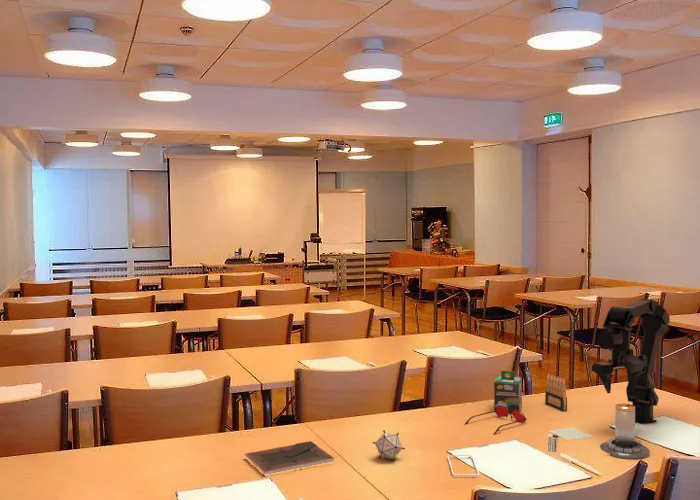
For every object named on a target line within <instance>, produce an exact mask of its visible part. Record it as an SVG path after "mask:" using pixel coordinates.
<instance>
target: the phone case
mask: <svg viewBox="0 0 700 500" xmlns="http://www.w3.org/2000/svg"><path fill="white" fill-rule="evenodd" d="M457 456H470V457H472V459H473V461H472V463H473V462H474V464H473V466H474V465H475V467H476V469H475V471H477V472H476V473H469V474H467V473H465V474H464V473H462V474H461V473H454V471H453V467H452V463H451V461H450V458H449V457H452V458H454V457H457ZM472 459H471V460H472ZM447 461H449V462H448V466H449V465H450V466H449V469H450V468H451V469H450V471H451V476H452V475H453V476H465V477H466V476H472V477H473V476H474V477H478V476H479V477H480V472H479V469H478V466H477V464H476V463H475V459H474V456H472V455H468V454H465V455H464V454H463V455H461V454H459V455H458V454H457V455H452V454H451V455H447ZM475 467H474V468H475ZM477 473H478V474H477ZM453 476H452V477H453Z"/></svg>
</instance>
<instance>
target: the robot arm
mask: <svg viewBox="0 0 700 500" xmlns="http://www.w3.org/2000/svg"><path fill="white" fill-rule="evenodd" d="M638 317H639V318H640V319H641V326H642V329H643V331H644V335H643V341H642V344H641V349H640V354H639V355H634V349H633V348H631V331H633V329H634V328H633V327H632V325H633V324H634V323H635V322H636V318H638ZM670 320H671V318H670V315H669V313H668V312H667V310H666V309H665V308H664V307H663V306H661V305H660V304H658V302H657V301H656V300H654V299H650V298H649V299H648V298H641V299H639V300H638V301H635V302H633V303H632V302H631V303H630V304H628V305H625V306H624V305H613V306H611V307H610V308H609V309H608V312H607V313H606V317H605V319H604V323H603V325H602V331H601V332H599V333H598V335H597V337H596V342H597V345H598V346H599V347H600V348H601V349H602V350H608V351H611V354H610V358H609V359H608V361H607V362H605V361H598V362H597V361H596V362H595V361H594V362H593V363H592V364H591V371H592V372H594V373H595V374H597V376H598V377H599V379H600V381H601V383H602V385H603V387H604V389H605V391H606V393H607V394H611V390H612V378H613V376H615V375H614V374H613V373H614V371H615V370H621V369H622V370H623V369H626V376H627V382H628V383H627V385H626V390H625V392H626V398H627V402H629V403H630V402H631V403H632V404H631V405H633V406H635V423H636V422H637V423H639V424H649V423H656V422H657V419H654V407H657V406H658V404H659V399H660V398H659V396H658V395H657V393H656V391H655V382H654V380H653V378H652V376H653V375H652V374H653V370H654V364H655V361H656V355H657V350H658V345H659V341H660V337H661V336H662V335H663V334H664V333H665V332H666V330H667V328H668V325H669V323H670Z"/></svg>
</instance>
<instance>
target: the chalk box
mask: <svg viewBox="0 0 700 500" xmlns="http://www.w3.org/2000/svg"><path fill="white" fill-rule="evenodd" d="M506 374H508V375H510V376H506ZM522 393H523V392H522V377H521V376H515V371H513V370H501V371H500V376H499V375H497V376H496V377H495V380H494V382H493V400H494V401H493V402H494V403H493V404H494V405H493V406H494V409H493V411H495V410H497V408H496V407H497V405H499V406H503V407H504V408H505V407H507V409H508V408H510V409H509V411H508V414H512V412H513V411H514V410H517V411H520V412H522V411H521V410H522V408H523V400H522V399H523V398H522V397H523V395H522ZM511 409H513V410H511Z"/></svg>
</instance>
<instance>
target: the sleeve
mask: <svg viewBox="0 0 700 500" xmlns="http://www.w3.org/2000/svg"><path fill="white" fill-rule="evenodd" d="M614 412H615V415H614V416H615V419H614V420H615V421H614V423H615V425H614V426H615V427H614V438H615V446H618V447H623V448H634V447H635V441H636V440H635V437H636V432H635V431H636V421H635V406H633V405H632V404H629V403H616V404H615V411H614Z"/></svg>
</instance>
